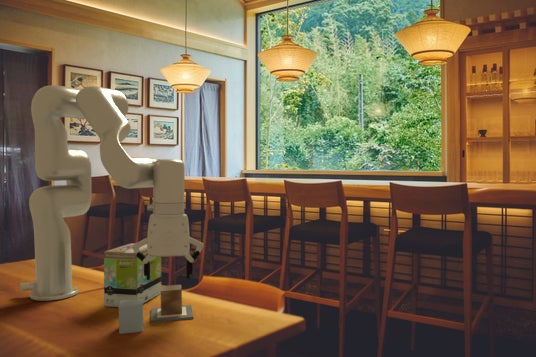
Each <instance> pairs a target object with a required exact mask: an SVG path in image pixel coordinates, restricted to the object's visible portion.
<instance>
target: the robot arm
mask: <svg viewBox="0 0 536 357" xmlns="http://www.w3.org/2000/svg"><path fill="white" fill-rule="evenodd" d="M30 111H31V119H32V123H33V128H34V165H35V166H34V168H35V173H36V176H37V177H38V178H39V179H41V180H43V181H46V182H48V181H49V182H57V181H60V182H61V181H65V183H66V184H64V185H63V184H60V185H44V186H42V187H38V188H37V189H35V190H34V191H32V193H31V195H30V197H29V198H28V199H29V200H28V207H29V211H30V213H31V218H32V225H33V234H34V235H33V238H34V263H35V265H34V268H35V269H34V270H35V271H34V272H35V280H34V281H32V282H20V284H19V290H21V292H22V291H23V292H25V291H30V294H29V298H30V299H31V300H34V301H40V302H45V301H46V302H48V301H57V300H63V299H67V298H70V297H71V298H72V297H73V296H76V295H77V294H78V292H79V290H78V287H77V286H73V273H72V270H73V269H72V268H73V267H72V244H71V243H72V240H71V239H72V238H71V237H72V236H71V230H70V227H69V226H68V224H67V223H66V222H65V219H64V218H70V217H71V218H72V217H79V216H82V215H85V214H86V213H87V212H88V211H89V210H90V208H91V205H92V204H91V203H92V163H91V160H90V156H88V154H87V153H86V152H85V151H84V150H82V149H80V148H79V149H78V148H74V147H73V148H71V147H70V148H69V146H68V145H69V144H68V137H69V136H68V132H67V129H66V127H65V124H64V123H63V121H62V120H61V119H60V118H67V119H69V118H70V119H77V120H79V119H80V120H86V121H87V124H89V126H90V127H91V128H92V130H93V131H94V132H95V133H96V136H98V138H99V140H100V144H99V157H100V161H101V164H102V166H103V167H104V169H105V170H106V171H107V173H108V174H109V176H110V177H111V178H112V180H113V181H114V182H115V184H117V185H118V186H119V187H122V188H123V189H139V188H140V189H143V188H145V189H146V188H147V189H148V188H153V189H152V190H153V191H152V194H153V196H152V198H153V199H152V200H153V202H152V203H151V204H146V210H147V211H151V212H152V214H150V215H149V219H148V228H147V237H145V238H143V239H142V240H140V241H138V242H136V244H134V245H133V246H132V248H133V250H134V252H135V254H136V256H137V257H138V258H139V259H140V260H141V261H142V262H143V263H144V276H147V280H149V279H150V262H149V260H150V259H151V258H152V257H161V258H162V257H163V258H164V257H165V258H168V257H185V258H186V263H185V264H186V267H185V270H186V271H185V274H186V275H185V276H186V277H185V278H186V279H190V278H191V277H190V276H191V275H193V263H194V262H195V260H196V259H197V258H198V257H199V256H200V254H201V253H202V250H203V249H204V247H205V244H204V243H203V242H201V241H200V240H197V239H195V238H193V237H191V236H190V224H189V217H188V215H187V214H186V213H185V184H186V182H185V175H186V174H185V173H186V171H185V167H186V166H185V163H184V161H183V160H180V159H172V158H170V159H169V158H164V159H163V158H162V159H161V158H157V157H156V158H155V157H130V155H129V154H128V153H127V152H126V151H125V149H124V147H123V146H122V145H121V143H122V142H123V141H125V139H126V138H127V137H128V135H129V134H130V132H131V124H130V122H129V121H128V119H127V118H126V115H127V114H128V113H129V101H128V99H127V97H126V96H125V94H123V93H122V92H121V91H119V90H117V89H113V88H108V87H102V86H95V85H91V86H86V87H83V88H82V89H81V88H74V87H69V86H64V85H56V84H55V85H45V86H42V87H41V88H39V89H38V90H37V91H36V92H35V94H34V96H32V100H31V105H30ZM146 244H147V252H148V253H147V254H146V256H145V255H144V254H143V253H142V252H141V251H140V249H139V248H140V247H142V246H144V245H146ZM190 245H193V246H195V247H196V248H195V250H194V251H193V253H190V248H191V247H190Z"/></svg>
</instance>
